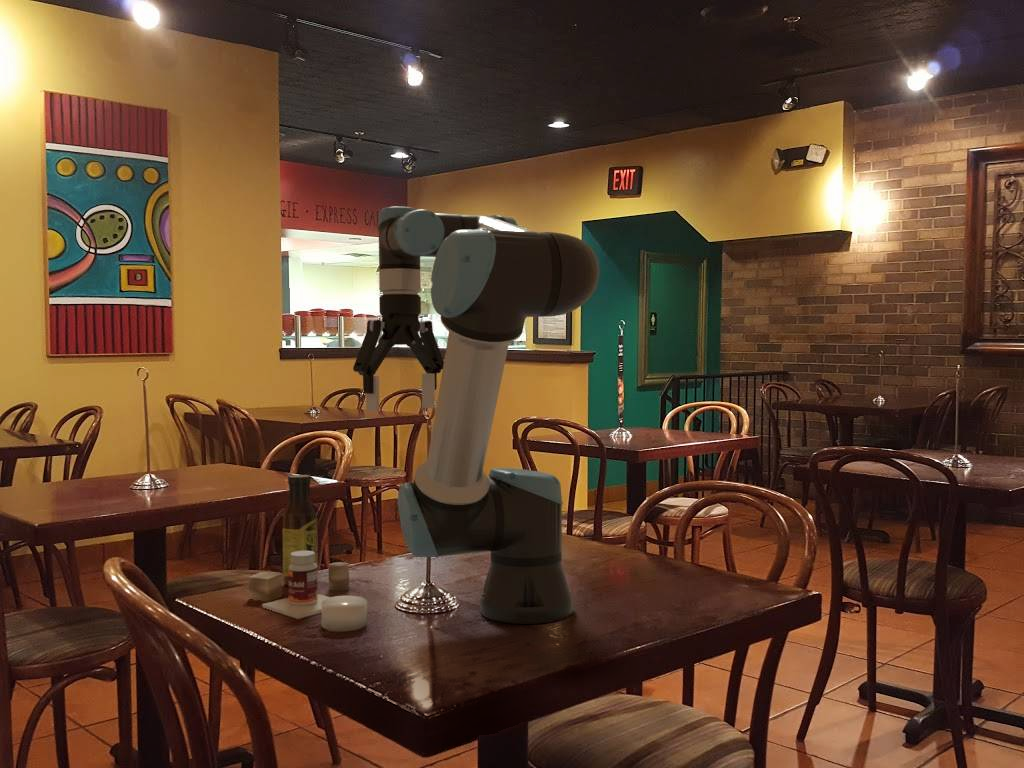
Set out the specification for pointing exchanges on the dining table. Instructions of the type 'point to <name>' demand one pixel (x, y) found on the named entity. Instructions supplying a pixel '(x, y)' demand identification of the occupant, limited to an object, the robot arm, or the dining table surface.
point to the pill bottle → (302, 578)
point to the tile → (295, 607)
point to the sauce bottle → (299, 522)
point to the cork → (338, 576)
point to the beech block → (265, 586)
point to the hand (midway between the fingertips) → (401, 410)
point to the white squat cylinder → (344, 613)
